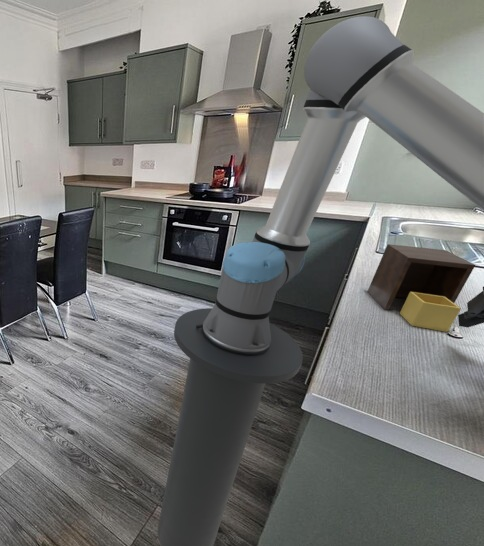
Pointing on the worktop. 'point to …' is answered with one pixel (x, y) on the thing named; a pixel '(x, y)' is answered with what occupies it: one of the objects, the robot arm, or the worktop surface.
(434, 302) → the basket
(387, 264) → the shelf
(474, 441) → the worktop surface
